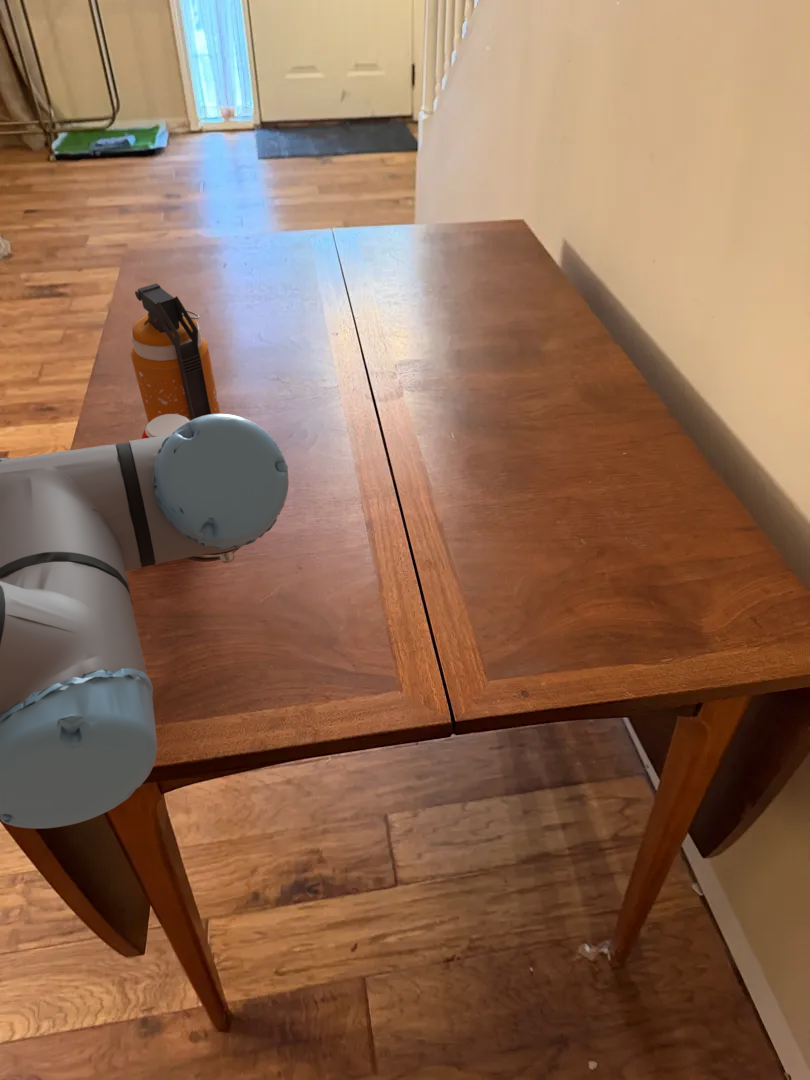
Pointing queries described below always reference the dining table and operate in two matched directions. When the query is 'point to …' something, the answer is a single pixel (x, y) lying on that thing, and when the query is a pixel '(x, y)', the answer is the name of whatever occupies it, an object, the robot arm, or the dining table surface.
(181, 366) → the canister
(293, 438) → the dining table surface
